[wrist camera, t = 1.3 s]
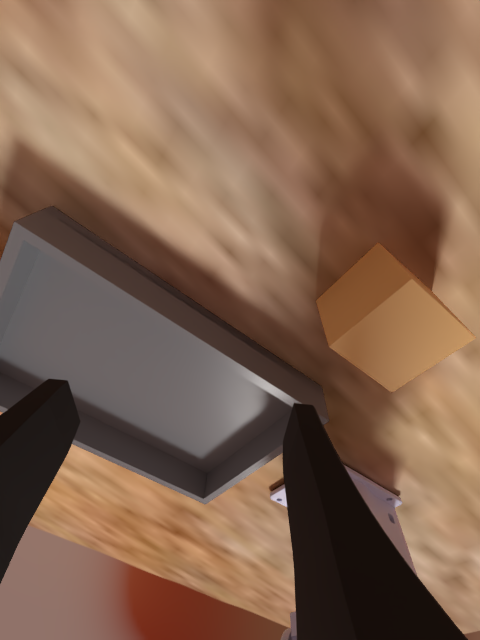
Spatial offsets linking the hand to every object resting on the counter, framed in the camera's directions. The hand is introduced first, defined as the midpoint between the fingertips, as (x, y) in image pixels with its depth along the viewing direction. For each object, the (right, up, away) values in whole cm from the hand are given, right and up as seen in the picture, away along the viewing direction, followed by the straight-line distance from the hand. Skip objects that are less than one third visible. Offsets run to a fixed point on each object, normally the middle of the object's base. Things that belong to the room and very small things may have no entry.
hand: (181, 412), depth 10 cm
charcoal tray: (-4, -1, +12) cm, 13 cm away
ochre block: (+10, +4, +8) cm, 13 cm away
